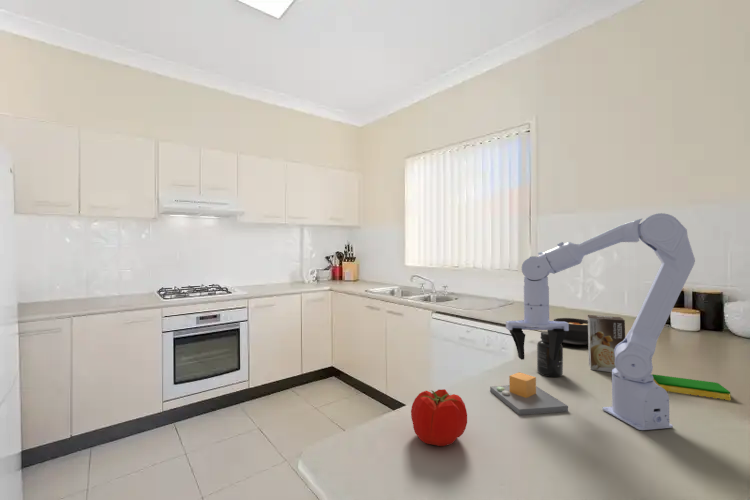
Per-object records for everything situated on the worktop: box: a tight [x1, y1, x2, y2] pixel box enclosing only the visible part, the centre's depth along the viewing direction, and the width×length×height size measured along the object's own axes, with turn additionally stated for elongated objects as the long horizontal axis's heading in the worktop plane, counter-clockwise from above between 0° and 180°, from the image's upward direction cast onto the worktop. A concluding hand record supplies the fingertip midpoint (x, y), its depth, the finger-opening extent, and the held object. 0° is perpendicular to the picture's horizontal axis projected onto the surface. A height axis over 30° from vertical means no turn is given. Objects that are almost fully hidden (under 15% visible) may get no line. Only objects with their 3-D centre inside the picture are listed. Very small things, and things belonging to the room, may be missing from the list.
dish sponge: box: [651, 373, 732, 401], centre depth 88 cm, size 7×14×2 cm, turn 62°
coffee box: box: [587, 314, 626, 373], centre depth 104 cm, size 9×6×16 cm
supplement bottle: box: [536, 331, 564, 378], centre depth 100 cm, size 7×7×12 cm
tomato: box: [410, 389, 468, 447], centre depth 64 cm, size 11×11×9 cm
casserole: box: [553, 317, 588, 346], centre depth 136 cm, size 25×19×8 cm
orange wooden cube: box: [508, 371, 537, 398], centre depth 83 cm, size 4×4×4 cm
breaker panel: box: [489, 384, 569, 416], centre depth 81 cm, size 13×12×2 cm
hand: (537, 358), depth 84 cm, fingers open, 7 cm apart
